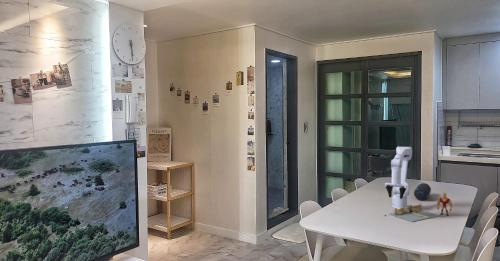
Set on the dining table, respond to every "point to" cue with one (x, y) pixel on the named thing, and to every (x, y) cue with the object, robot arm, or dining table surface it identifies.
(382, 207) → the dining table surface
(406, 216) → the board
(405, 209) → the tan piece
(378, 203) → the dining table surface
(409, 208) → the hinge post
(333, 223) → the dining table surface
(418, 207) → the fixed fence section
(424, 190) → the portable speaker
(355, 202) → the dining table surface
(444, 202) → the action figure
